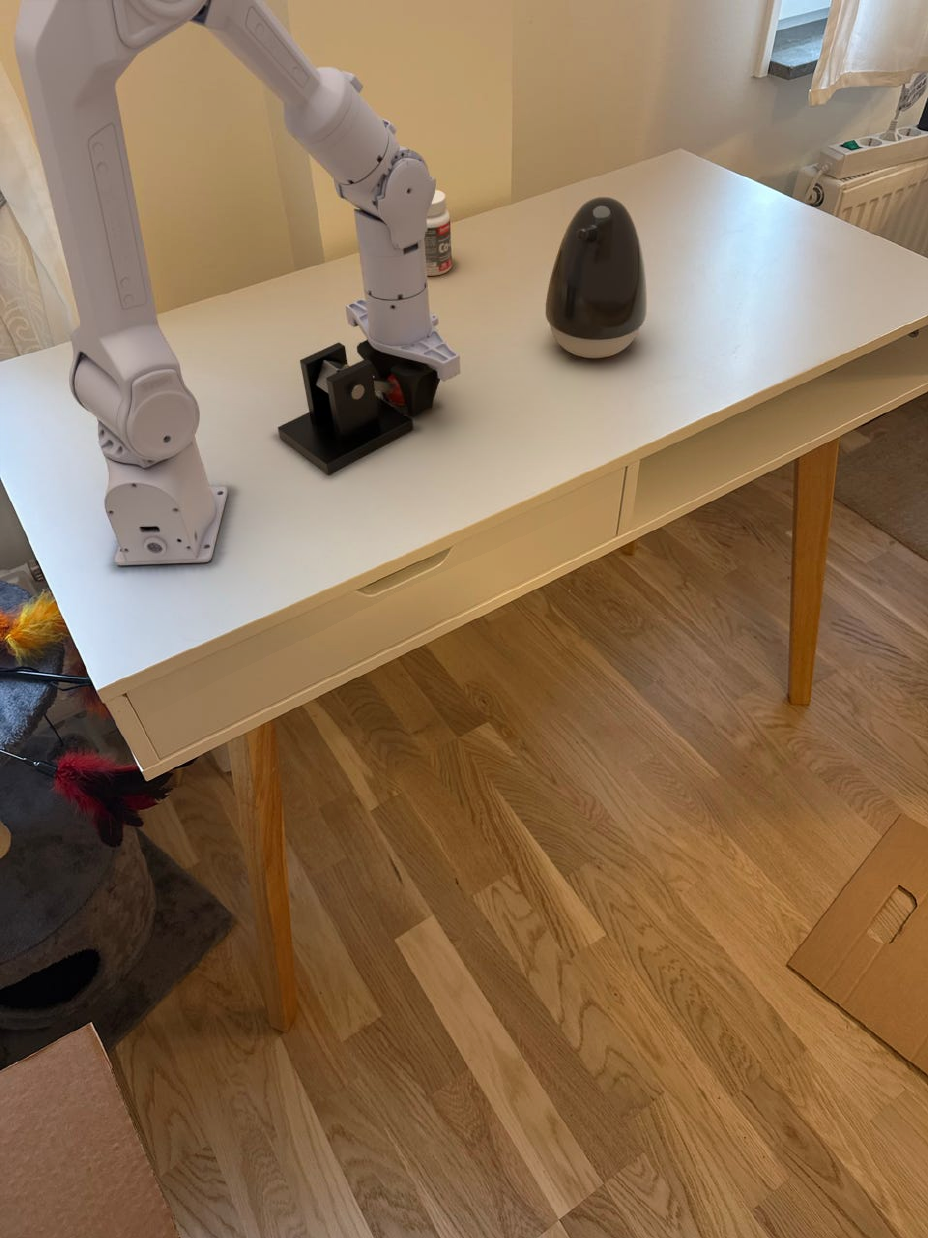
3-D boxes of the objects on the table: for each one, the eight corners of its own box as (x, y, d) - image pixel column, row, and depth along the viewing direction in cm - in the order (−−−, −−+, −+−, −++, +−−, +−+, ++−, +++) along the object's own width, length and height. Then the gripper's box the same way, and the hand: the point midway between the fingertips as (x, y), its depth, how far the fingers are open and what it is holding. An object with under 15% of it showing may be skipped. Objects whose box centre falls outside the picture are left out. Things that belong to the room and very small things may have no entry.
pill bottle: (447, 278, 109) (444, 206, 103) (408, 275, 110) (402, 204, 104) (455, 259, 112) (452, 188, 106) (417, 256, 113) (412, 186, 107)
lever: (397, 398, 93) (407, 368, 92) (417, 411, 91) (428, 380, 90) (310, 386, 85) (321, 353, 84) (331, 401, 83) (342, 367, 82)
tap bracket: (362, 395, 93) (353, 324, 87) (413, 429, 89) (407, 357, 83) (279, 437, 89) (263, 365, 83) (328, 475, 84) (315, 402, 79)
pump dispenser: (527, 358, 97) (530, 212, 86) (567, 312, 103) (575, 170, 92) (620, 381, 93) (635, 231, 82) (655, 332, 99) (674, 186, 88)
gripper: (483, 296, 81) (487, 426, 91) (380, 243, 89) (394, 368, 98) (421, 327, 78) (432, 457, 88) (320, 269, 86) (341, 395, 95)
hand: (408, 412), depth 93 cm, fingers closed on lever, 3 cm apart
